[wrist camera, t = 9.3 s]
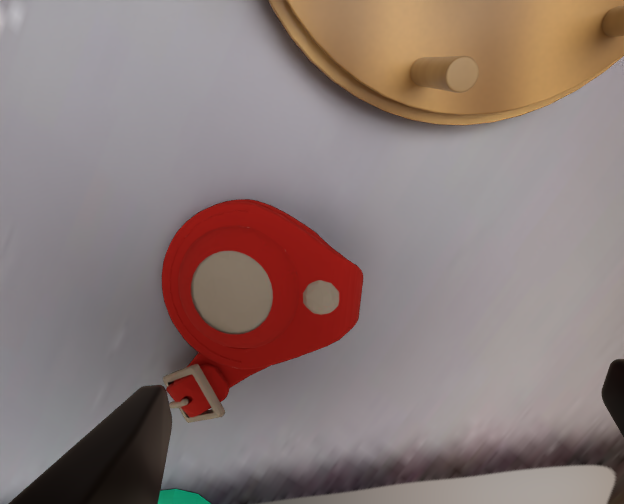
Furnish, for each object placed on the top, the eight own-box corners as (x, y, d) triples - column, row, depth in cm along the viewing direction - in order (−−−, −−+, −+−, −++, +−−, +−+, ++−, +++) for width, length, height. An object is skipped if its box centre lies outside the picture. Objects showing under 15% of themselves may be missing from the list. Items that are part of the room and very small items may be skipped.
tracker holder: (140, 192, 18) (367, 214, 17) (187, 189, 23) (371, 206, 21) (139, 439, 21) (340, 478, 19) (182, 394, 25) (349, 423, 23)
